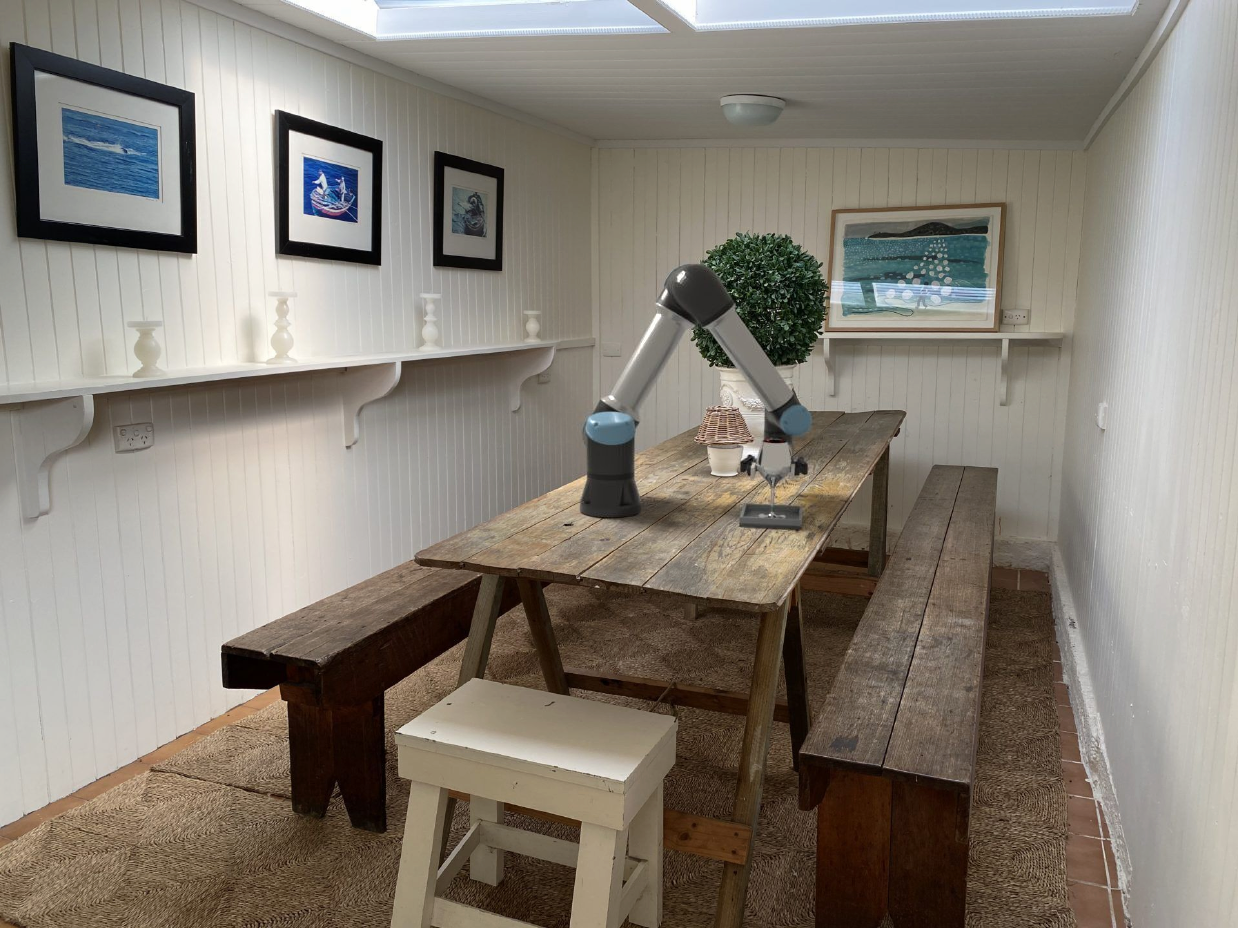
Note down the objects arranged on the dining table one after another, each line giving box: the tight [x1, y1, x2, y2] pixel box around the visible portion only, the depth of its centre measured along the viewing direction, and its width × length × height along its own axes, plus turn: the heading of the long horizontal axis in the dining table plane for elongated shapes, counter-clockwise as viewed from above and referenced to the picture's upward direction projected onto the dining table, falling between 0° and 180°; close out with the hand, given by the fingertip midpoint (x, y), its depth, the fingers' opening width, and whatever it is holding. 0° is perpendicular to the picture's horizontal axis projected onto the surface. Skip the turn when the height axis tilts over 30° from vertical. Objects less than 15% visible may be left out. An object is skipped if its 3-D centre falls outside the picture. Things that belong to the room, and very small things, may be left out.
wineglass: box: [756, 439, 792, 519], centre depth 221 cm, size 8×8×18 cm
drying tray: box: [738, 502, 804, 530], centre depth 223 cm, size 14×14×2 cm
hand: (772, 474), depth 216 cm, fingers open, 8 cm apart
